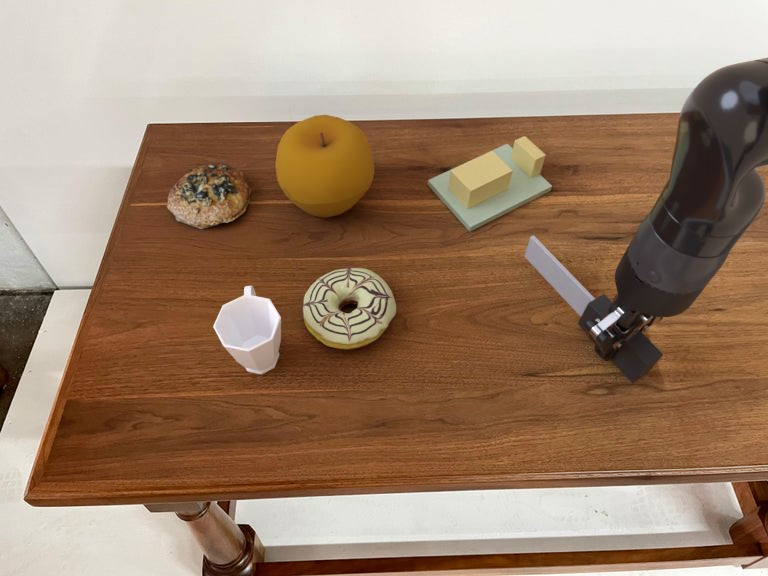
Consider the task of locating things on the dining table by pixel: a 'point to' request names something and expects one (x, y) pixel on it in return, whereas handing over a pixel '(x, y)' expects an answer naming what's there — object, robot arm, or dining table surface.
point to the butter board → (498, 205)
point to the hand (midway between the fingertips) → (612, 347)
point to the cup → (250, 331)
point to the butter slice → (527, 156)
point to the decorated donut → (346, 289)
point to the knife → (593, 311)
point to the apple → (324, 165)
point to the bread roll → (209, 196)
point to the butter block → (480, 179)
